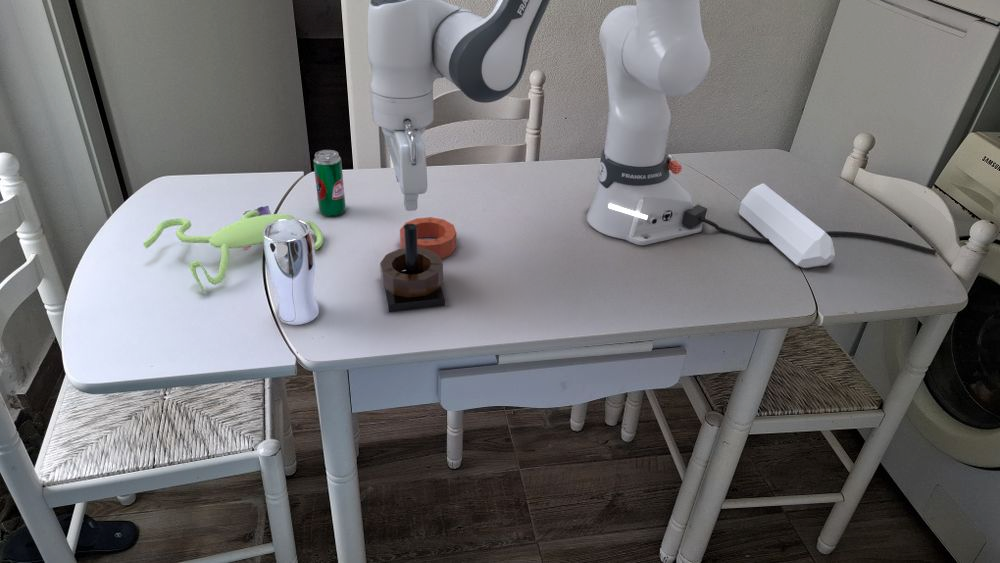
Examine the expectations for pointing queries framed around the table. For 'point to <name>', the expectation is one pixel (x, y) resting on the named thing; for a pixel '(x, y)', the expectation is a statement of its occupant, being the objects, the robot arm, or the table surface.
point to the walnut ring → (411, 283)
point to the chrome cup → (292, 269)
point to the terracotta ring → (433, 235)
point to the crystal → (787, 228)
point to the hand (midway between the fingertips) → (406, 194)
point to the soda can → (329, 183)
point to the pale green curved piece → (230, 237)
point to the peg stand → (411, 264)
